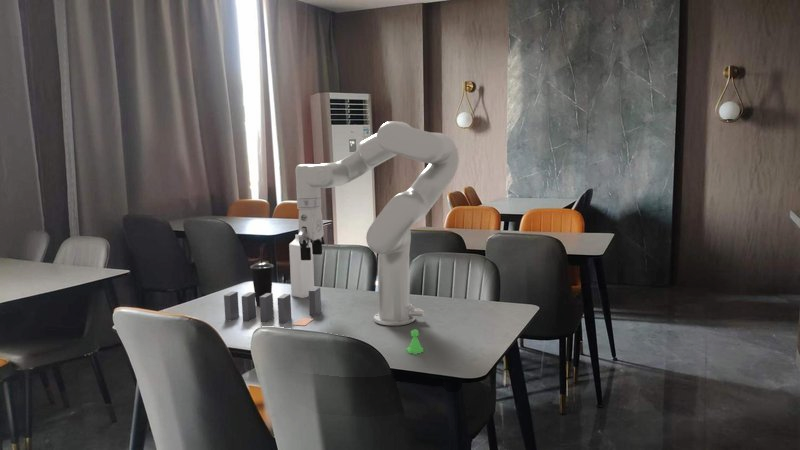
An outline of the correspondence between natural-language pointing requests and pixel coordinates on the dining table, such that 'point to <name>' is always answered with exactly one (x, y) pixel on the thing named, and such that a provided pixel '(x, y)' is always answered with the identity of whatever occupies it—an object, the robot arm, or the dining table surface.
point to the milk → (300, 271)
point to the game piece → (415, 343)
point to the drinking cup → (262, 278)
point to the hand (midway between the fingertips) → (311, 257)
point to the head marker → (303, 321)
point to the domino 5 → (314, 301)
